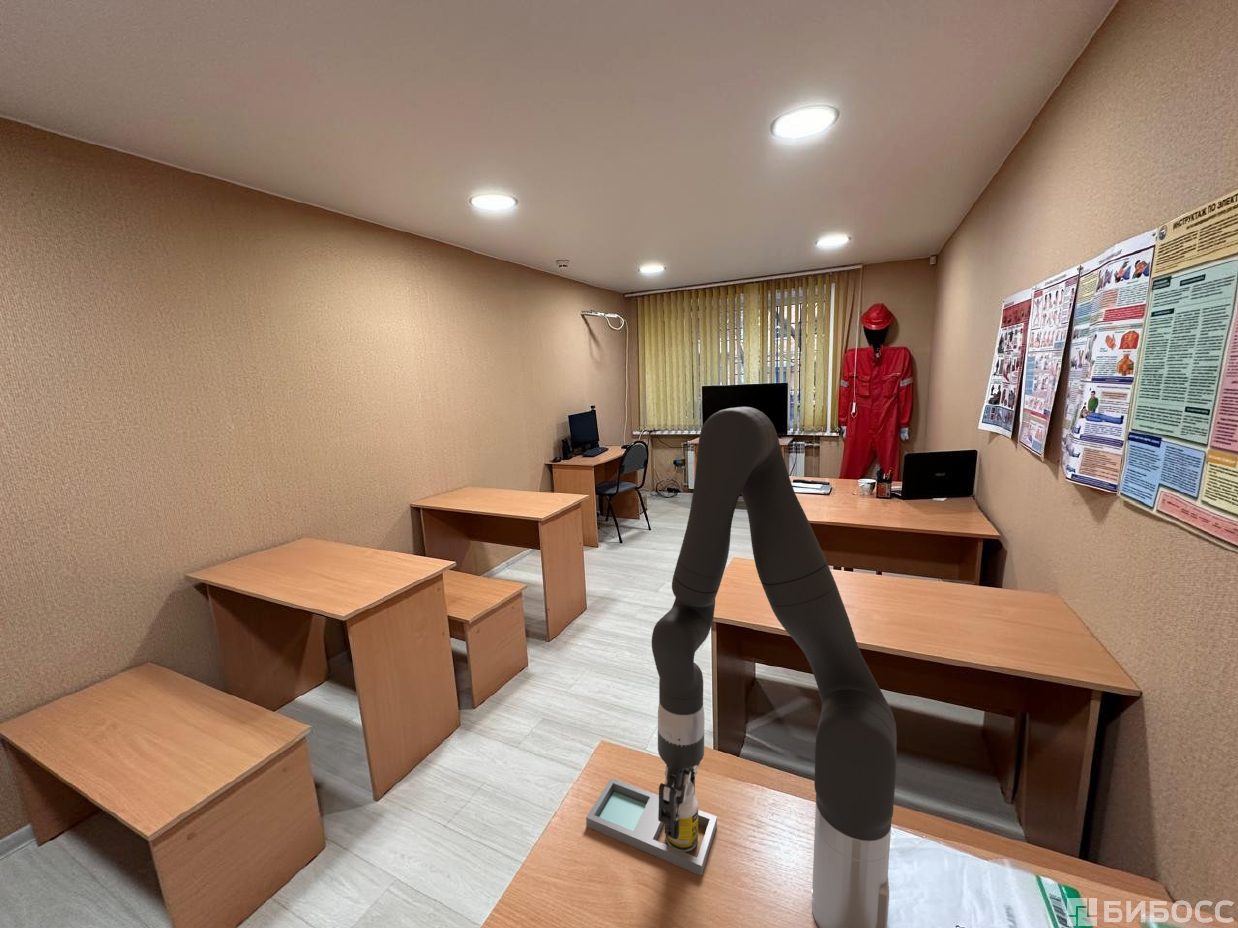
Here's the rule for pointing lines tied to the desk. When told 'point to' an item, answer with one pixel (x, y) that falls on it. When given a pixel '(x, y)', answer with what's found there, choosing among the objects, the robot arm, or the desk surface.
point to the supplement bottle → (687, 822)
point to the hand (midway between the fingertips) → (680, 814)
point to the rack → (644, 824)
